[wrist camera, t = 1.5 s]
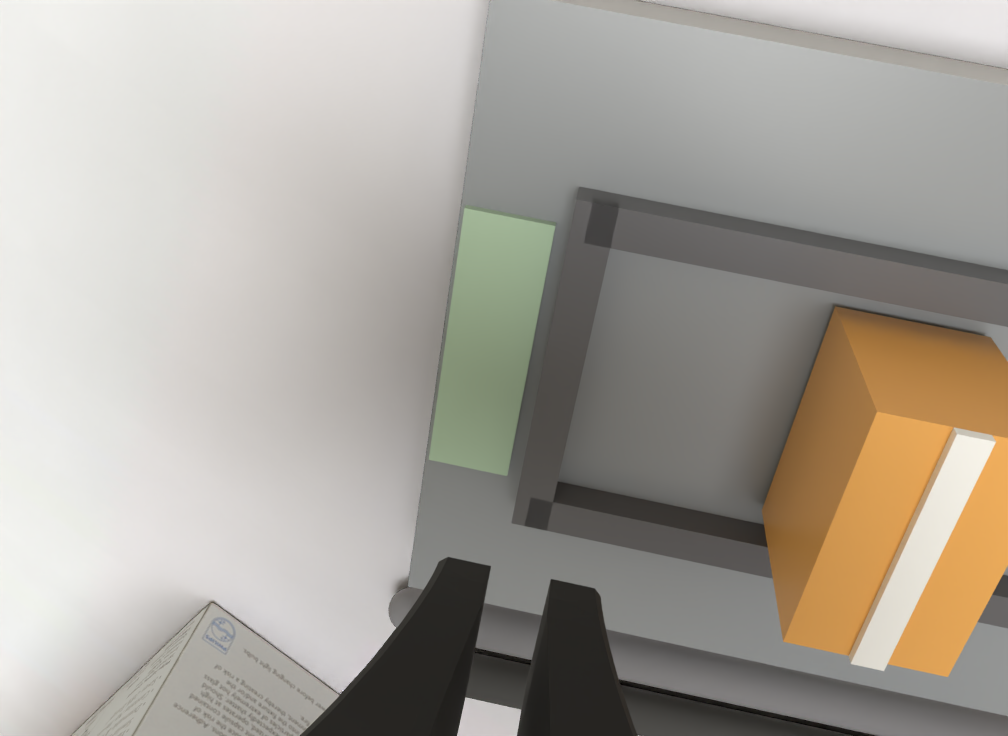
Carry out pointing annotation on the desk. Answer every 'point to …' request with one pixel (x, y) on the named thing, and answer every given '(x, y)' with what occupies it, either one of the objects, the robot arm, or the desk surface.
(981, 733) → the dark gray parallel rods
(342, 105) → the desk surface
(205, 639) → the light bulb box
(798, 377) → the breaker panel
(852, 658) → the lever
